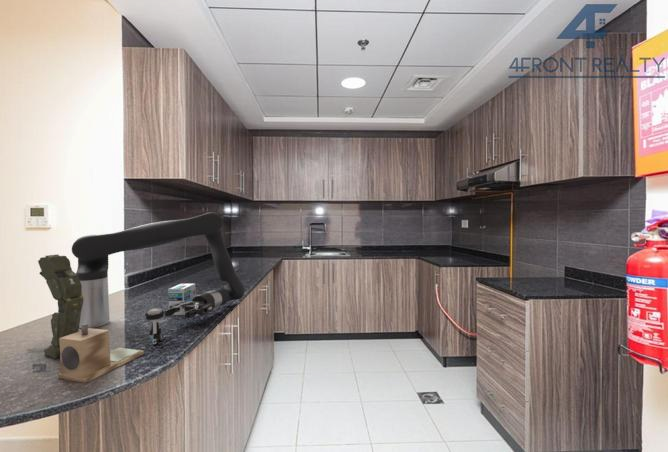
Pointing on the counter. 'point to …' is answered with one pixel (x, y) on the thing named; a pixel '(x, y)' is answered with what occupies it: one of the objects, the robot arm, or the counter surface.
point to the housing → (90, 355)
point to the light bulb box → (181, 294)
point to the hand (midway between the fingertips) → (175, 314)
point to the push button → (155, 323)
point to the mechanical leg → (62, 298)
